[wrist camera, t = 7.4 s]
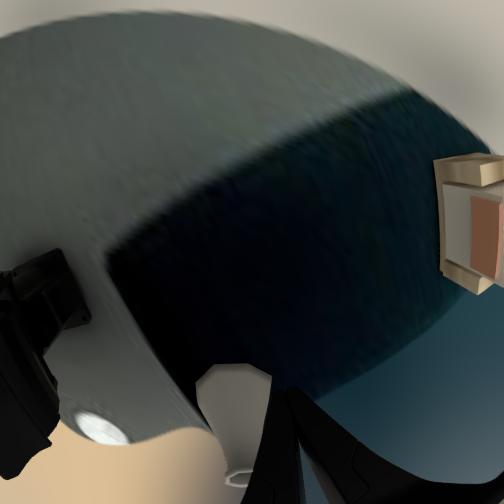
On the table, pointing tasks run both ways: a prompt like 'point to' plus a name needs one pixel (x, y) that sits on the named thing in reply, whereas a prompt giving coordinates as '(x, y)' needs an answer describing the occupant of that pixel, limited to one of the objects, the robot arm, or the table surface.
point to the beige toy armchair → (446, 170)
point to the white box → (476, 228)
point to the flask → (235, 414)
